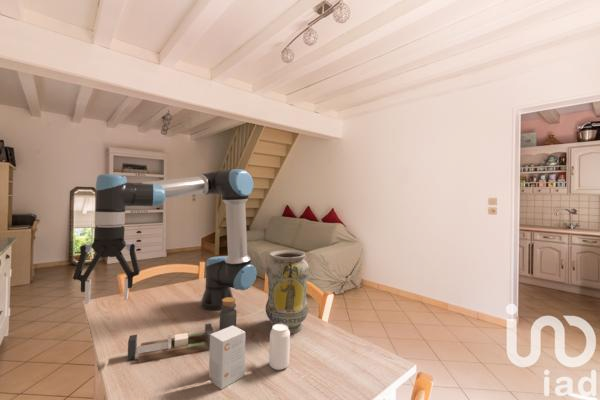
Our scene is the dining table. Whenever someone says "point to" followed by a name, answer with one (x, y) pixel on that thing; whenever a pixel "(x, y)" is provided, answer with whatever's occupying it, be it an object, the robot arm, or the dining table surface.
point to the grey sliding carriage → (145, 347)
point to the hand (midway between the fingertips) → (107, 300)
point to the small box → (227, 356)
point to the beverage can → (279, 346)
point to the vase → (287, 289)
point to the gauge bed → (195, 345)
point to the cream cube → (181, 340)
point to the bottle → (228, 313)
